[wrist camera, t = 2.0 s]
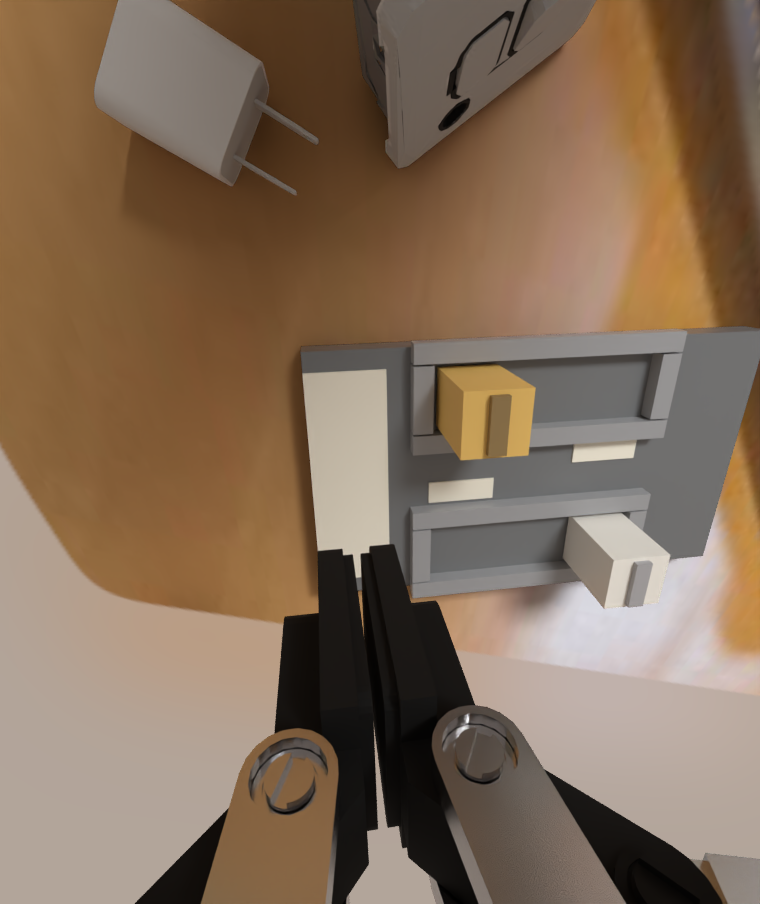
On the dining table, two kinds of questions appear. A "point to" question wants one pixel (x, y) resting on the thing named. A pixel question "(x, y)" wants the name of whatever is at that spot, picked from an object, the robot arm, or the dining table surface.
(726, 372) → the switch board
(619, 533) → the white tab
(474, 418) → the yellow block with tab
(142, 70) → the usb wall charger
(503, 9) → the electrical switch
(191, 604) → the dining table surface
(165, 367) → the dining table surface
